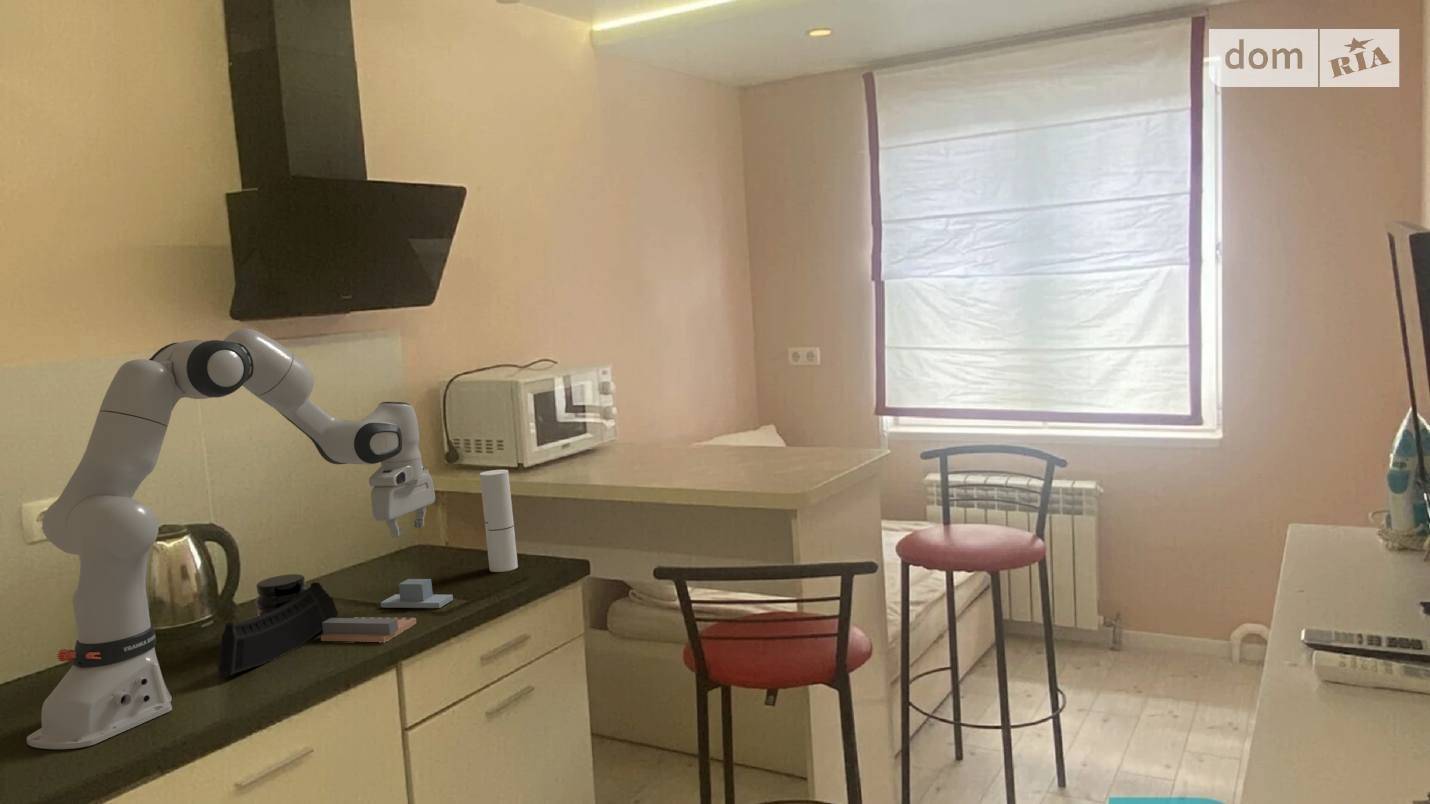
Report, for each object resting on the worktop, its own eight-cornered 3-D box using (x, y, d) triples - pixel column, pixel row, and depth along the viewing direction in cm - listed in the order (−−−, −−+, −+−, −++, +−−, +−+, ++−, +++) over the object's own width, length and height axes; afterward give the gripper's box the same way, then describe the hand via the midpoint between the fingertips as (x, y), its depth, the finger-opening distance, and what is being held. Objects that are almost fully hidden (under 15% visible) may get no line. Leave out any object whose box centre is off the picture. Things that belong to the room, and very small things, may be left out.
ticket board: (386, 643, 202) (384, 626, 201) (319, 641, 206) (317, 625, 206) (418, 623, 213) (416, 607, 213) (354, 622, 217) (352, 606, 217)
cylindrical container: (509, 562, 259) (500, 468, 256) (522, 567, 253) (513, 471, 251) (484, 569, 254) (474, 473, 252) (497, 573, 249) (487, 476, 246)
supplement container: (250, 638, 212) (243, 584, 210) (296, 623, 220) (289, 571, 219) (277, 646, 205) (270, 590, 204) (323, 630, 214) (316, 576, 213)
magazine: (215, 640, 183) (317, 553, 209) (202, 639, 184) (304, 552, 210) (247, 713, 190) (341, 620, 216) (233, 712, 191) (329, 619, 217)
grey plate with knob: (439, 608, 223) (437, 585, 222) (381, 607, 227) (378, 585, 226) (453, 599, 228) (450, 577, 228) (396, 599, 232) (393, 577, 232)
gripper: (415, 464, 235) (420, 521, 236) (363, 480, 215) (370, 542, 217) (438, 463, 233) (444, 521, 235) (389, 479, 214) (395, 542, 215)
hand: (408, 531), depth 225 cm, fingers open, 8 cm apart
